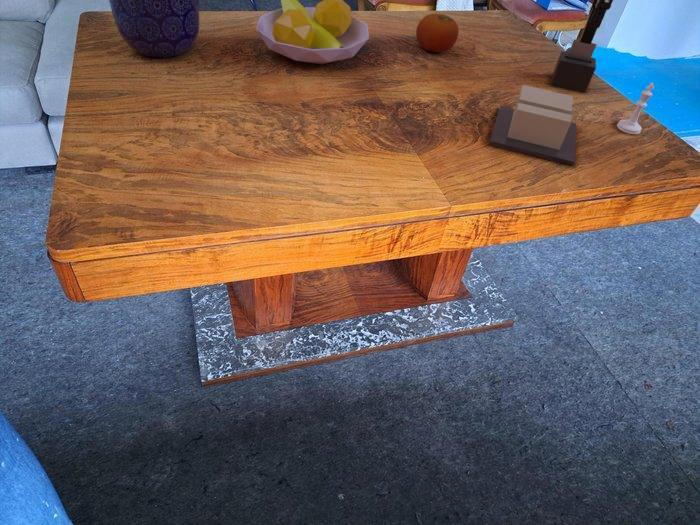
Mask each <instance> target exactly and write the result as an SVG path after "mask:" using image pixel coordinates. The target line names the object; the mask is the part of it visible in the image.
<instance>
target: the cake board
mask: <svg viewBox="0 0 700 525" xmlns="http://www.w3.org/2000/svg"><path fill="white" fill-rule="evenodd" d="M514 109H515V108H513V107H508V106H504V105H499V108H498V112H497V115H496V119H495V122H494V125H493V128H492V133H491V136H490V138H489V143H488V146H490V147H495V148H497V149H498V148H499V149H503V150H506V151H510V152H514V153H519V154H521V155H526V156H530V157H534V158H539V159H542V160H546V161H550V162H553V163H557V164H561V165H566V166H569V167H574V164H575V162H576V142H577V140H576V139H577V123H576V122H572V121H571V124H570V126H569V129H568V131H567V133H566V135H565V138H564V140H563V142H562V145H561V147H560V149H559V150H557V149H553V148H549V147H544V146H540V145H536V144H532V143H528V142H524V141H520V140H516V139H512V138H508V133H509V129H510V125H511V121H512V116H513V112H514Z"/></svg>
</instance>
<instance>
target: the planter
mask: <svg viewBox="0 0 700 525" xmlns="http://www.w3.org/2000/svg"><path fill="white" fill-rule="evenodd" d="M108 2H109V6H110V10H111V13H112V17H113V19H114V20H113V21H114V23H115V26H116V28H117V30H118V33H119V35H120V36H121V37H122V39H123V41H124V42H125V43H126V44H127V45H128V46H129V47H130V48H131V49H132V50H133V51H135V52H137V53H138V54H140V55H143V56H146V57H151V58H159V59H162V58H173V57H176V56H177V57H178V56H180V55H182V54H183V55H184V54H185V53H187V52H188V51H189V50H190V49H191V48H192V47H193V46H194V44H195V43H196V41H197V39H198V35H199V32H200V6H199V3H200V2H199V0H108Z"/></svg>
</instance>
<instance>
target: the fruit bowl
mask: <svg viewBox="0 0 700 525" xmlns="http://www.w3.org/2000/svg"><path fill="white" fill-rule="evenodd" d="M280 3H281V8H279V9H275V10H273V11H270V12H267V13H264V14H261V15H259V17H258V20H257V24H256V28H255V30H256V32H257V33H258V34H259V36H260V38H261V39H262V41H263V43H264V44H265V45H266V47H267V49H268V50H269V51H273V52H275V53H277V54H280V55H282V56H284V57H286V58H289V59H291V60H293V61H295V62H296V61H297V62H303V63H310V64H317V65H324V64H328V63H334V62H338V61H343V60H346V59H351V58H354V56H356V54H358V52H359V51H360V49H362V47H363V46H365V44H366V43H367V41H369V39H370V34H369V33H370V32H369V25H368V24H367V23H365V22H363V21H361V20H360V19H358V18H356V17H354V16H352V10H351V9H352V8H351V6H350V5H349V4H347V2H345V1H344V0H322V1H320V2H318V3H317V4H316V5H315V6H307V7H306V6H305V7H304V6H303V5H302V4H301V3H300V2H299V1H298V0H280Z"/></svg>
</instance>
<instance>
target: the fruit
mask: <svg viewBox="0 0 700 525" xmlns="http://www.w3.org/2000/svg"><path fill="white" fill-rule="evenodd" d="M415 33H416V34H415V36H416V40H417V43H418V44H419V46H420V47H421V48H423V49H424V50H426V51H429V52H434V53H443V52H447V51H450V50H451V49H452V48H453V47H454V45H455V44H456V43H457V41H458V37H459V26H458V23H457V21H456V20H455V19H453V18H452V17H451V16H449V15H446V14H444V13H435V12H434V13H430V14H427V15H425V16H424V17H422V19H421V20H420V21H419V22H418V24H417V27H416V30H415Z"/></svg>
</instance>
